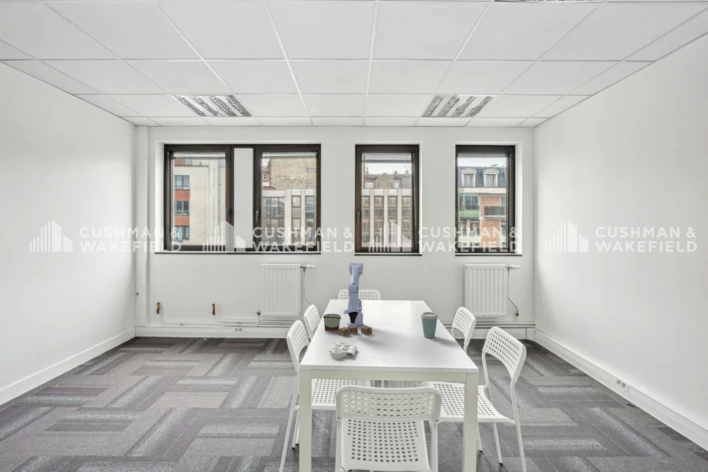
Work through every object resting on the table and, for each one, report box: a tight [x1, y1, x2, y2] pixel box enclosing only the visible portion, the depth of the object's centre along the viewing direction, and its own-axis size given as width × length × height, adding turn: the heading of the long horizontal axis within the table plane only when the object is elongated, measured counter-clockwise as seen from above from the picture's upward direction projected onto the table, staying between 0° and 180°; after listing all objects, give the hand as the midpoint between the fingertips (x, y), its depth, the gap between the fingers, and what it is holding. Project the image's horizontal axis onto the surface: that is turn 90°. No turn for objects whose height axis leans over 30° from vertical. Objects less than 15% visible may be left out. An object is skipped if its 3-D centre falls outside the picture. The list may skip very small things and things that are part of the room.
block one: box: [360, 325, 373, 336], centre depth 222 cm, size 5×5×4 cm
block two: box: [338, 326, 350, 337], centre depth 218 cm, size 5×5×4 cm
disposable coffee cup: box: [420, 311, 438, 339], centre depth 218 cm, size 11×11×15 cm
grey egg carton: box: [328, 341, 358, 360], centre depth 187 cm, size 3×18×15 cm
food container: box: [322, 313, 342, 332], centre depth 228 cm, size 12×6×10 cm, turn 84°
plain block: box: [346, 325, 359, 335], centre depth 223 cm, size 5×5×4 cm
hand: (352, 323), depth 223 cm, fingers closed
